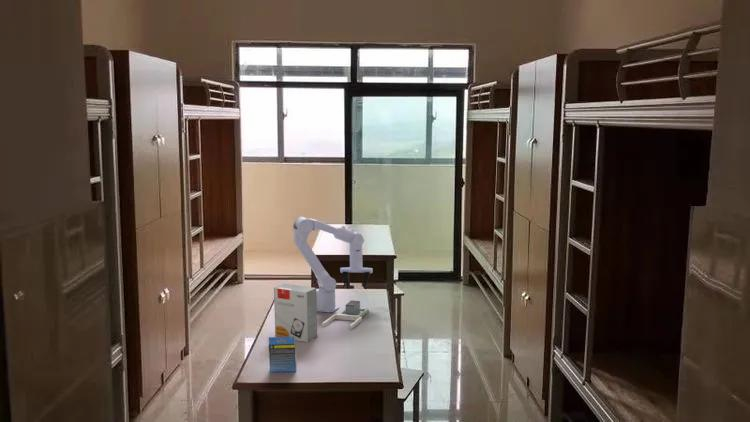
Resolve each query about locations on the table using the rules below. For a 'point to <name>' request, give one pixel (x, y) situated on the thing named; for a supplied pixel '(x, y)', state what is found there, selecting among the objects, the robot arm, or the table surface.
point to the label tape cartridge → (282, 354)
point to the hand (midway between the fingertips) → (356, 288)
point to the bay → (344, 317)
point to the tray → (362, 313)
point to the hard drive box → (295, 312)
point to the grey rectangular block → (353, 308)
